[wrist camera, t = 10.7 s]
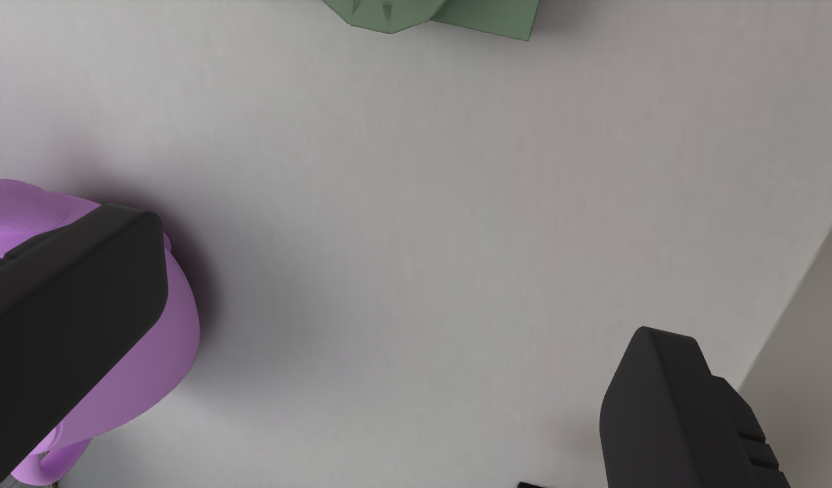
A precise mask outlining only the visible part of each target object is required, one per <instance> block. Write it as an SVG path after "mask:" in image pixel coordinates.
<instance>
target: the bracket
mask: <svg viewBox="0 0 832 488" xmlns="http://www.w3.org/2000/svg"><path fill="white" fill-rule="evenodd" d="M517 488H540V487H536V486H532V485H528V484H524V483H521V482H520V483H519V485H518V487H517Z"/></svg>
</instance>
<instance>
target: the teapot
mask: <svg viewBox="0 0 832 488" xmlns="http://www.w3.org/2000/svg"><path fill="white" fill-rule="evenodd" d="M99 206H101V204H98V203H96V202H92V201H89V200H86V199H83V198H80V197H76V196H72V195H67V194H62V193H57V192H46V191H45V190H43V189H41V188H39V187H37V186H34V185H31V184H28V183H24V182H21V181H16V180H10V179H0V258H3V257H4V253H6V252H8V251H9V250H11V249H13V248H14V247H16V246H18V245H19V244H21V243H23V242H24V241H26V240H28V239H29V238H31V237H33V236H35V235H38V234H41V233H44V232H48V231H51V230H54V229H57V228H60V227H63V226H66V225H69V224H71V223H73V222H75V221H76V220H78V219H79V218H81V217H83V216H84V215H86V214H88V213H89V212H91V211H92V210H94V209H96V208H97V207H99ZM163 238H164V248H165V258H166V268H167V278H168V299H167V303H166V306H165V309H164V311H163V313H162V315H161V317H160V318H159V320H158V321H157V322H156V324H155V325H154V326H153V327H152V328H151V329H150V330H149V331H148V332H147V333H146V334H145V335H144V336H143V337H142V338H141V339H140V340H139V341H138V342H137V343H136V344H135V345H134V346H133V347H132V349H131V350H130V351H129V352H128V353H127V354H126V355H125V356H124V357H123V358H122V359H121V360H120V361H119V362H118V363H117V364H116V365H115V366H114V367H113V368H112V369H111V370H110V371H109V372H108V373H107V374H106V375H105V376H104V377H103V378H102V379H101V380H100V382H99V383H98V384H97V385H96V386H95V387H94V388H93V389H92V390H91V391H90V392H89V393H88V394H87V395H86V396H85V397H84V398H83V399H82V400H81V401H80V402H79V403H78V404H77V405H76V406H75V407H74V408H73V409H72V410H71V411H70V412H69V414H68V415H67V416H66V417H65V418H64V419H63V420H62V421H61V422H60V423H59V424H58V425H57V426H56V427H55V428H54V429H53V430H52V431H51V432H50V433H49V434H48V435H47V436H46V437H45V438H44V439H43V440H42V441H41V442H40V443H39V444H38V445H37V447H36V448H35V449H34V450H33V451H32V452H31V453H30V454H29V455H28V456H27V457H26V458H25V459H24V460H23V461H22V462H21V463H20V464H19V465H18V466H17V467H16V468H15V469H14V470H13V471H12V472H11V474H12V475H13V476H14V478H16V479H17V480H19V481H21V482H23V483H26V484H30V485H38V486H42V485H48V484H52V483H54V482H56V481H58V480H59V479H61V478H62V477H63V476H64V475H65V474H66V473H67V472H68V471H69V470H70V469H71V468H72V467H73V466H74V464H75V463H76V462H77V460H78V459H79V458H80V456H81V455H82V453H83V452H84V451H85V449H86V448H87V446H88V445H89V443H90V441H91V440H92V438H93V437H94V436H97V435H99V434H102V433H104V432H107V431H109V430H112V429H114V428H116V427H119V426H121V425H123V424H125V423H127V422H128V421H130V420H132V419H134V418H135V417H137V416H139V415H141V414H142V413H144V412H146V411H147V410H148V409H150V408H151V407H152V406H154V405H155V404H157V403H158V402H159V401H160V400H161V399H163V398H164V397H165V396H166V395H167V394H168V393H169V392H171V391H172V390H173V389H174V388H175V387H176V386H177V385H178V384H179V383H180V382H181V380H182V379H183V378H184V377H185V376H186V374H187V373H188V372H189V370H190V369H191V367H192V365H193V363H194V361H195V358H196V354H197V350H198V346H199V340H200V325H199V316H198V311H197V307H196V303H195V299H194V296H193V293H192V291H191V288H190V285H189V283H188V281H187V278H186V276H185V274H184V273H183V271H182V269H181V267H180V266H179V264H178V263H177V261H176V260H175V258H174V257H173V255H172V254H171V253H170V252H171V242H170V240H169V238H168V236H167V235H166V234H165V233H164V232H163ZM47 451H50V452H49V453H48V454H47V455H46V456H45V458H44V459H43V460H42V461H41V462H40V453H43V452H47Z"/></svg>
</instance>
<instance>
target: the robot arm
mask: <svg viewBox="0 0 832 488" xmlns="http://www.w3.org/2000/svg"><path fill="white" fill-rule="evenodd" d="M167 299H168V278H167V268H166V258H165V248H164V238H163V229H162V223H161V220H160V218H159V217H158V216H157V215H156V214H155V213H152V212H148V211H144V210H140V209H135V208H131V207H127V206H122V205H118V204H113V203H106V204H103V205H101V206H99V207H97V208H96V209H94V210H92V211H91V212H89V213H88V214H86V215H84V216H83V217H81V218H79V219H78V220H76V221H75V222H73V223H71V224H69V225H66V226H63V227H60V228H57V229H54V230H51V231H48V232H44V233H41V234H38V235H35V236H33V237H31V238H29V239H28V240H26V241H24V242H23V243H21V244H19V245H18V246H16V247H14V248H13V249H11V250H9V251H8V252H6V253H4V257H3V258H0V483H2V482H3V481H4V480H5V478H6V477H7V476H8V475H9V474H10V473H11V472H12V471H13V470H14V469H15V468H16V467H17V466H18V465H19V464H20V463H21V462H22V461H23V460H24V459H25V458H26V457H27V456H28V455H29V454H30V453H31V452H32V451H33V450H34V449H35V448H36V447H37V445H38V444H39V443H40V442H41V441H42V440H43V439H44V438H45V437H46V436H47V435H48V434H49V433H50V432H51V431H52V430H53V429H54V428H55V427H56V426H57V425H58V424H59V423H60V422H61V421H62V420H63V419H64V418H65V417H66V416H67V415H68V414H69V412H70V411H71V410H72V409H73V408H74V407H75V406H76V405H77V404H78V403H79V402H80V401H81V400H82V399H83V398H84V397H85V396H86V395H87V394H88V393H89V392H90V391H91V390H92V389H93V388H94V387H95V386H96V385H97V384H98V383H99V382H100V380H101V379H102V378H103V377H104V376H105V375H106V374H107V373H108V372H109V371H110V370H111V369H112V368H113V367H114V366H115V365H116V364H117V363H118V362H119V361H120V360H121V359H122V358H123V357H124V356H125V355H126V354H127V353H128V352H129V351H130V350H131V349H132V347H133V346H134V345H135V344H136V343H137V342H138V341H139V340H140V339H141V338H142V337H143V336H144V335H145V334H146V333H147V332H148V331H149V330H150V329H151V328H152V327H153V326H154V325H155V324H156V322H157V321H158V320H159V318H160V317H161V315H162V313H163V311H164V309H165V306H166V303H167ZM599 428H600V438H601V444H602V450H603V456H604V463H605V469H606V475H607V481H608V487H609V488H790V485H789V483H788V481H787V479H786V477H785V476H784V474H783V472H780V471H779V470H778V467H779V463H778V461H777V459H776V457H775V455H774V453H773V452H772V449H771V447H770V445H769V444H765V439H766V438H765V435H764V433H763V432H762V429H761V427H760V425H759V423H758V421H757V419H756V417H755V415H754V413H753V411H752V409H751V407H750V406H749V405H748V404H747V403H746V402H745V401H744V400H743V399H742V397H741V396H740V395H739V394H738V393H737V392H736V391H735V390H734V389H733V388H732V387H731V385H730V384H729V383H728V382H727V381H726V380H725V379H724V378H722V377H717V376H713V375H712V374H711V372H710V370H709V367H708V365H707V363H706V361H705V358H704V356H703V354H702V352H701V349H700V347H699V345H698V343H697V341H696V340H695V339H694V338H692V337H689V336H684V335H680V334H676V333H671V332H667V331H663V330H658V329H654V328H649V327H645V326H642V327H640V328H638V329H637V331H636V332H635V333H634V335H633V337H632V339H631V341H630V343H629V345H628V347H627V349H626V351H625V353H624V356H623V358H622V360H621V362H620V364H619V366H618V368H617V370H616V372H615V375H614V377H613V379H612V381H611V383H610V385H609V387H608V389H607V391H606V394H605V396H604V399H603V403H602V407H601V412H600V424H599Z"/></svg>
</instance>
